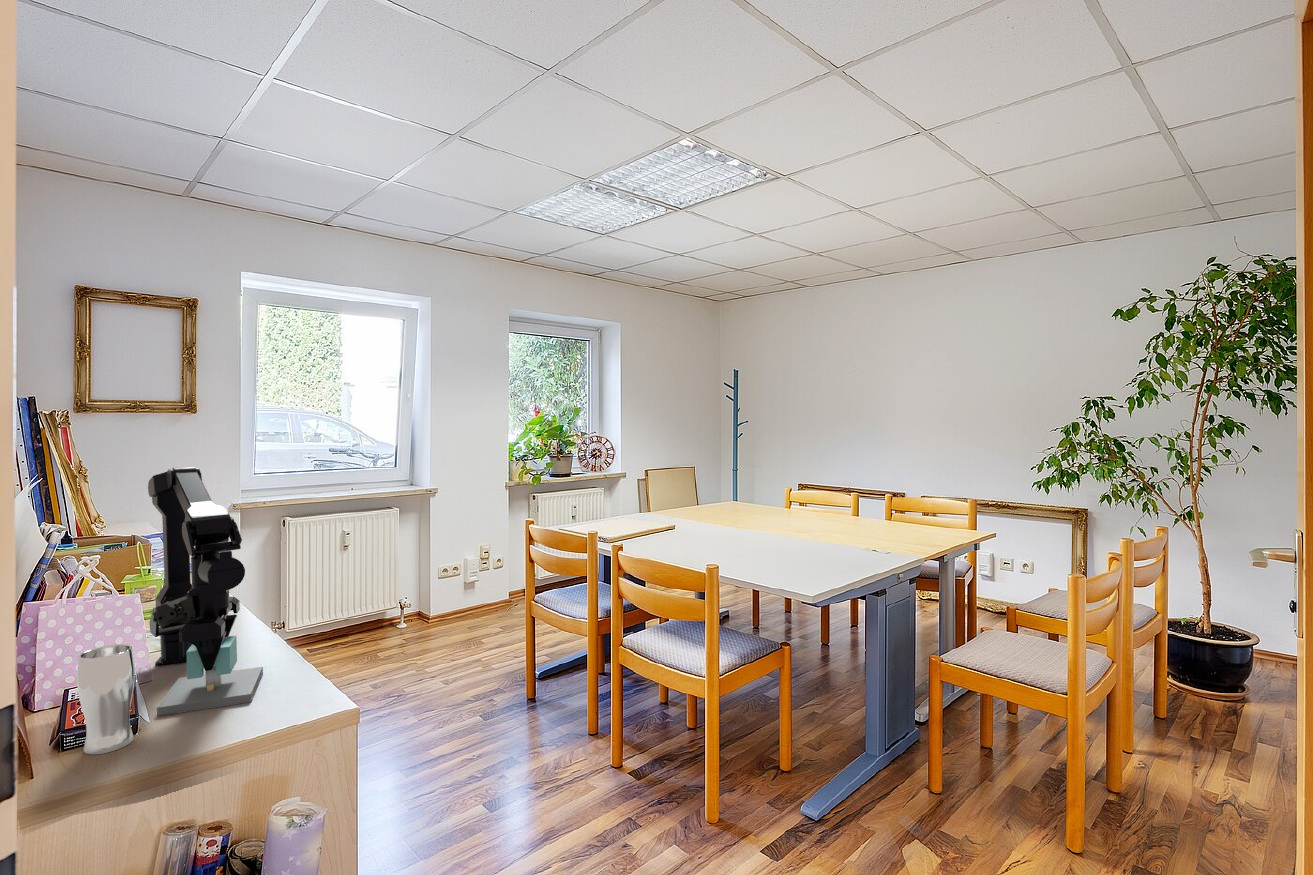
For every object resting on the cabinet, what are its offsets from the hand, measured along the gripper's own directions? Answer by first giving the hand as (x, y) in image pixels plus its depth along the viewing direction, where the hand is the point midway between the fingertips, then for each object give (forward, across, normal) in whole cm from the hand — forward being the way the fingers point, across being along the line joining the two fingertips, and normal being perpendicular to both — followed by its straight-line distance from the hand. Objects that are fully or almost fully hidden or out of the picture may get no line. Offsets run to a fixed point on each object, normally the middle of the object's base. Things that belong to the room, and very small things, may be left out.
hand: (212, 663), depth 123 cm
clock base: (+6, 0, 0) cm, 6 cm away
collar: (+1, 0, 0) cm, 1 cm away
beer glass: (+6, +16, -11) cm, 20 cm away
